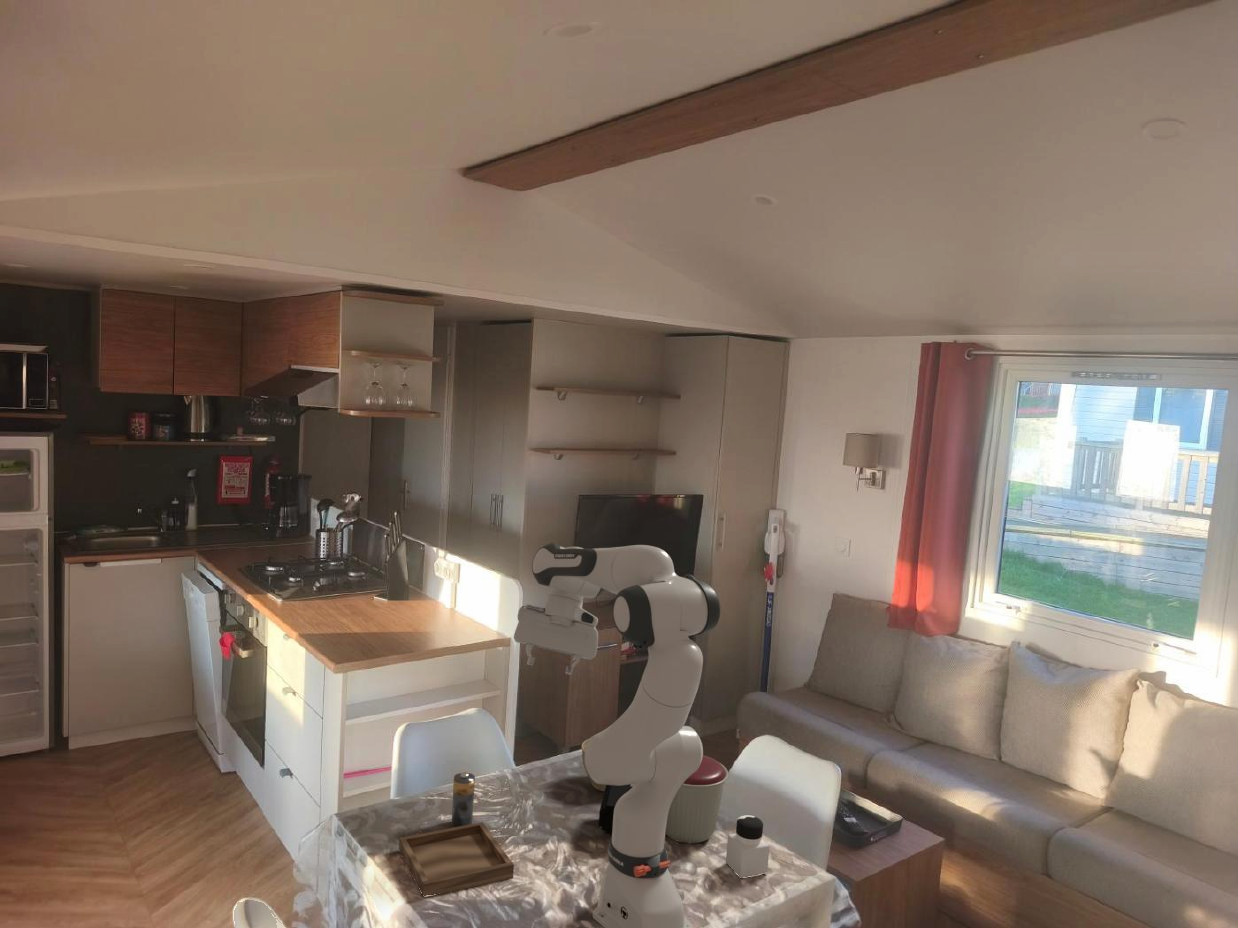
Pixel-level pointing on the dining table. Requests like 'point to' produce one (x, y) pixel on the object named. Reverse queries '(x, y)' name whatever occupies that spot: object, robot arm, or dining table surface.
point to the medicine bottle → (747, 847)
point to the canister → (697, 803)
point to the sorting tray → (455, 859)
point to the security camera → (610, 805)
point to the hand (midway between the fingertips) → (549, 669)
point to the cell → (463, 799)
